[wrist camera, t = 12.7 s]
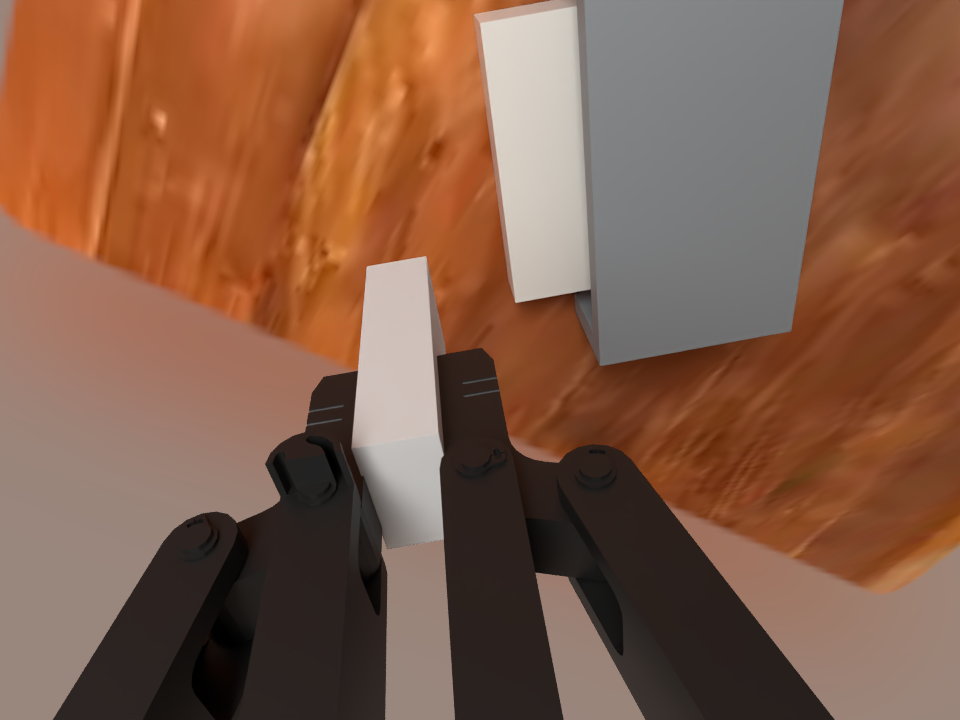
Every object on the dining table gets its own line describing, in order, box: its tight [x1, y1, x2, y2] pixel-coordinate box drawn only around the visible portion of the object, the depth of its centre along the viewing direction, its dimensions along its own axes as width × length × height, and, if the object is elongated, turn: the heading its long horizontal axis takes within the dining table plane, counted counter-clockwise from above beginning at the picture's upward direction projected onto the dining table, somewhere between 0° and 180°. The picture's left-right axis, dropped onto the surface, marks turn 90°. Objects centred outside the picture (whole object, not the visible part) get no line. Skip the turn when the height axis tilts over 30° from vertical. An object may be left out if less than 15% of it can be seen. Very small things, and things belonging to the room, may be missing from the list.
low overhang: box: [575, 0, 844, 366], centre depth 37 cm, size 23×12×6 cm, turn 8°
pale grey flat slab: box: [473, 0, 591, 303], centre depth 38 cm, size 16×10×3 cm, turn 8°
